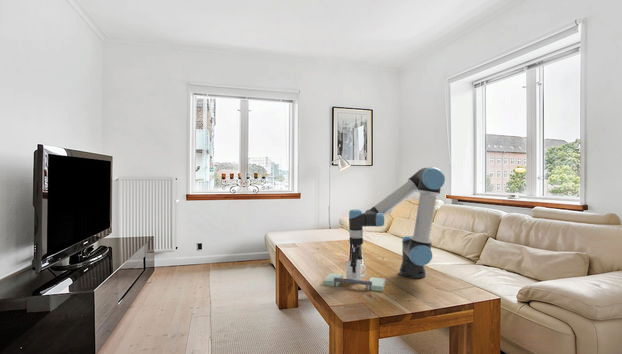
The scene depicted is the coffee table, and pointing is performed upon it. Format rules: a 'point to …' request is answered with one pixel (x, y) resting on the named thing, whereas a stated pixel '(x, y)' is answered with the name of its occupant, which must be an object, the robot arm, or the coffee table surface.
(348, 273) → the mug
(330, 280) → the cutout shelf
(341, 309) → the coffee table surface
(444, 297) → the coffee table surface
